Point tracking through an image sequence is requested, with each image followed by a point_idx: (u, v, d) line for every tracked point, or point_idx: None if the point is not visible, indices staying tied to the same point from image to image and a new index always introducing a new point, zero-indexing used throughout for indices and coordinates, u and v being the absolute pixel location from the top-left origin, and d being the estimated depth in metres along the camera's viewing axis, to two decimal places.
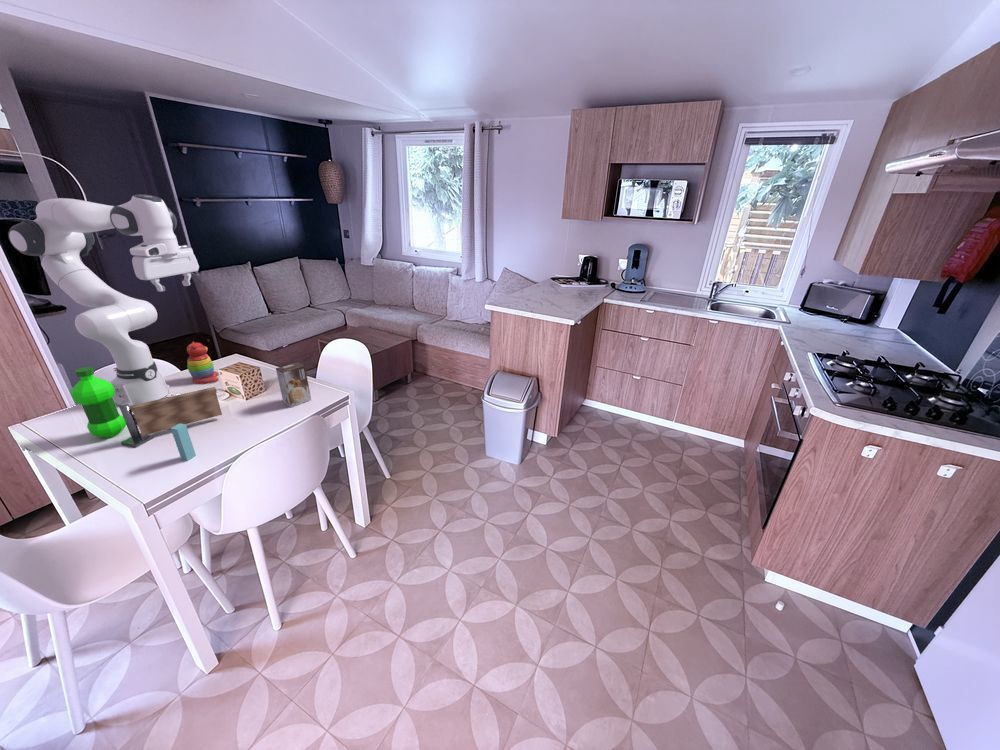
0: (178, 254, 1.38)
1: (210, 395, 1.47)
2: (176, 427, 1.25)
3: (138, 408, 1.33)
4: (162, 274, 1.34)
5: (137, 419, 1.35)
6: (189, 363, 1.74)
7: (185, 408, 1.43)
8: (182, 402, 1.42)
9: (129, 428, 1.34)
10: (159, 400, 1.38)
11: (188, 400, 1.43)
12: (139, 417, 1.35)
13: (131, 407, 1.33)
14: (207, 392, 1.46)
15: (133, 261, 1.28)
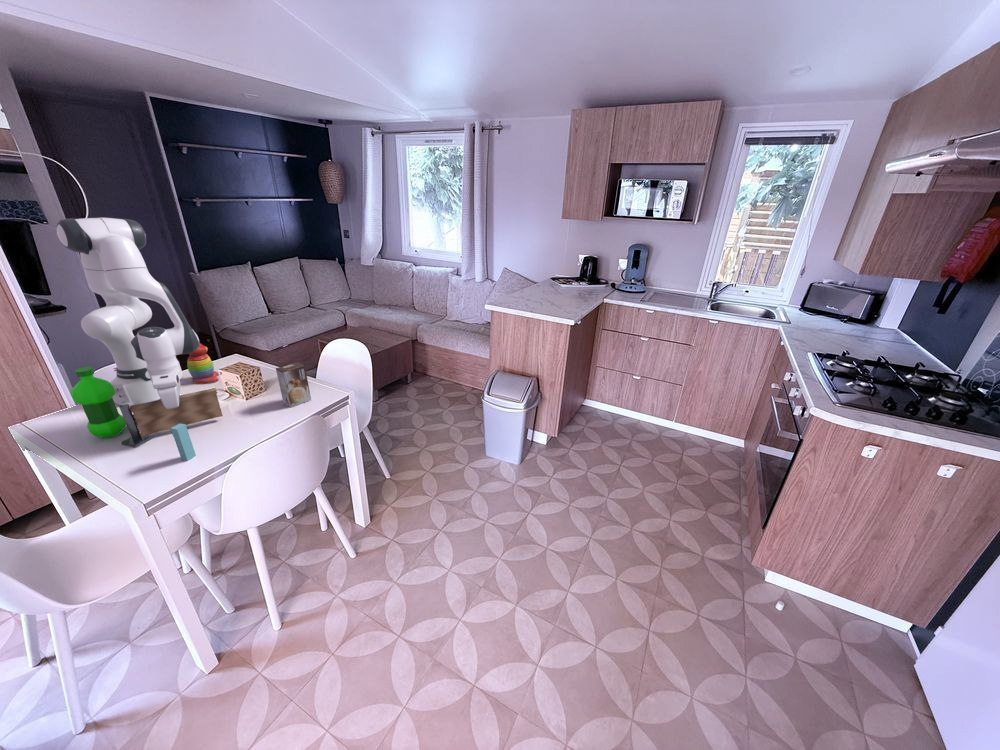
0: None
1: (211, 396, 1.46)
2: (176, 427, 1.25)
3: (138, 408, 1.33)
4: None
5: (137, 419, 1.34)
6: (189, 363, 1.74)
7: (185, 409, 1.42)
8: (182, 403, 1.41)
9: (129, 428, 1.34)
10: (160, 401, 1.37)
11: (188, 401, 1.42)
12: (139, 417, 1.35)
13: (131, 407, 1.33)
14: (207, 393, 1.45)
15: (161, 394, 1.32)
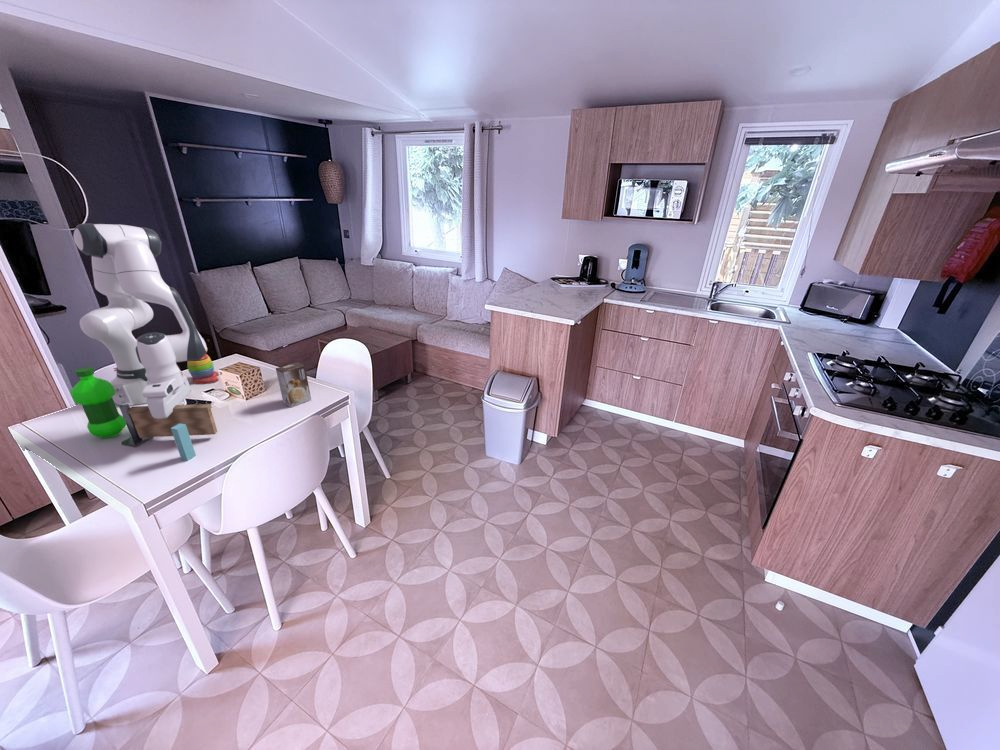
0: None
1: (203, 413, 1.36)
2: (176, 427, 1.25)
3: (134, 411, 1.32)
4: (173, 407, 1.34)
5: (134, 421, 1.33)
6: (189, 363, 1.74)
7: (178, 420, 1.36)
8: (175, 413, 1.35)
9: (129, 428, 1.34)
10: None
11: (180, 412, 1.35)
12: (136, 419, 1.33)
13: (129, 408, 1.32)
14: (198, 409, 1.35)
15: (149, 403, 1.27)
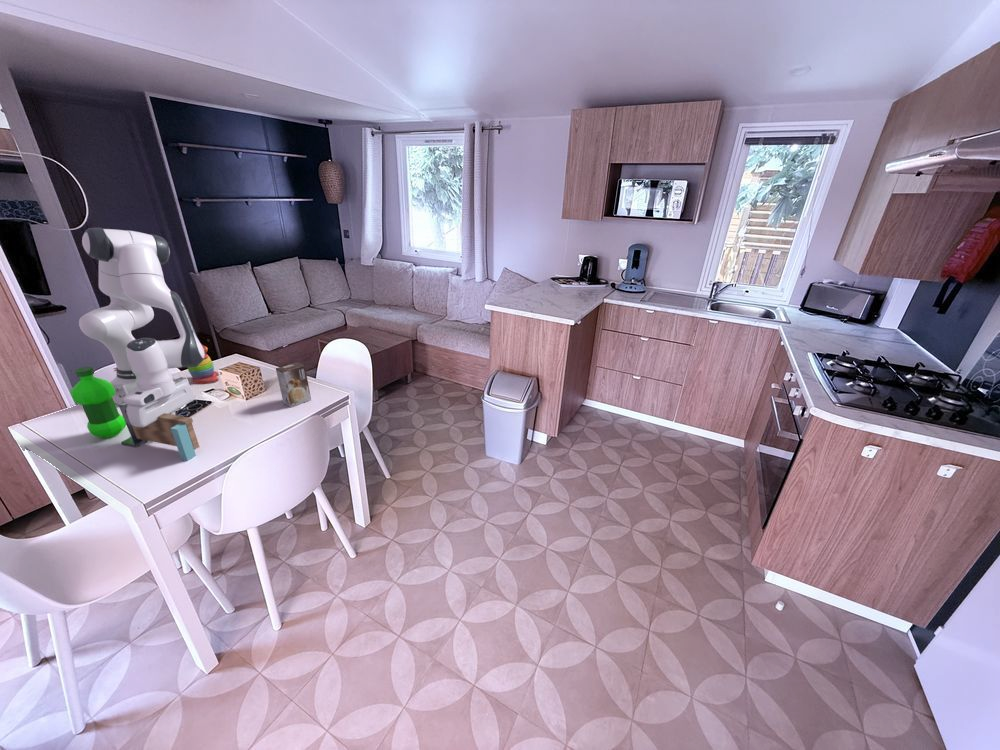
0: None
1: None
2: (176, 427, 1.25)
3: None
4: None
5: None
6: None
7: (164, 429, 1.31)
8: (161, 422, 1.30)
9: (129, 428, 1.34)
10: None
11: (165, 422, 1.29)
12: None
13: None
14: (178, 422, 1.27)
15: (127, 410, 1.22)
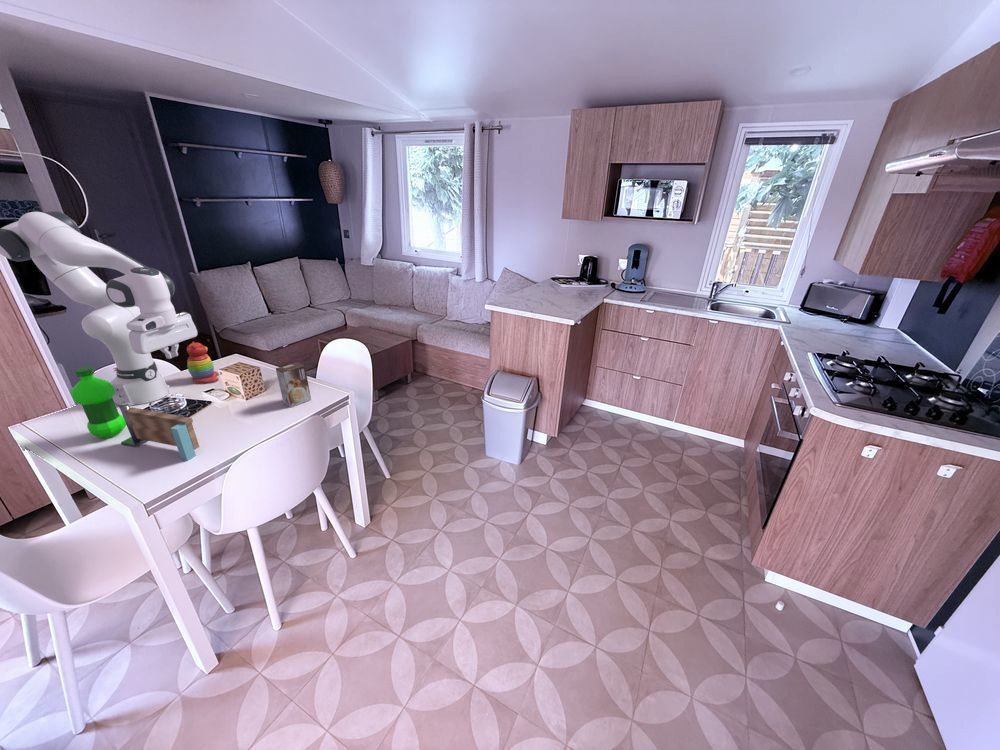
0: (176, 323, 1.35)
1: None
2: (176, 427, 1.25)
3: (129, 413, 1.31)
4: (159, 346, 1.31)
5: (131, 422, 1.33)
6: (189, 363, 1.74)
7: (164, 429, 1.31)
8: (161, 422, 1.30)
9: (129, 428, 1.34)
10: (146, 412, 1.30)
11: (165, 422, 1.29)
12: (132, 421, 1.32)
13: (127, 409, 1.31)
14: (178, 422, 1.27)
15: (130, 336, 1.25)
